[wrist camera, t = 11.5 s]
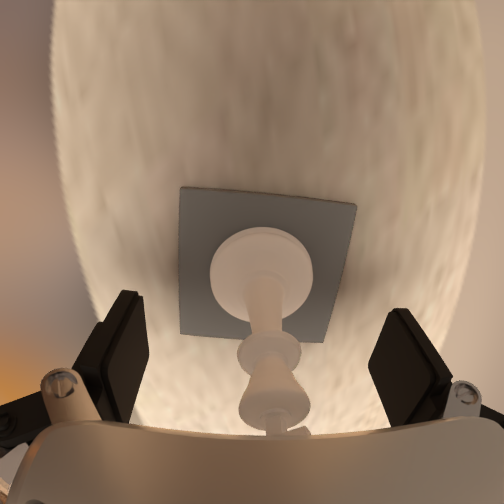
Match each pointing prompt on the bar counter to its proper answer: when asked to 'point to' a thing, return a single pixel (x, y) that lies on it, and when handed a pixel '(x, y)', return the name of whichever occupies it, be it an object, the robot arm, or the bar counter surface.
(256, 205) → the pad
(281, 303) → the chess piece
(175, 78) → the bar counter surface
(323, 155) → the bar counter surface
